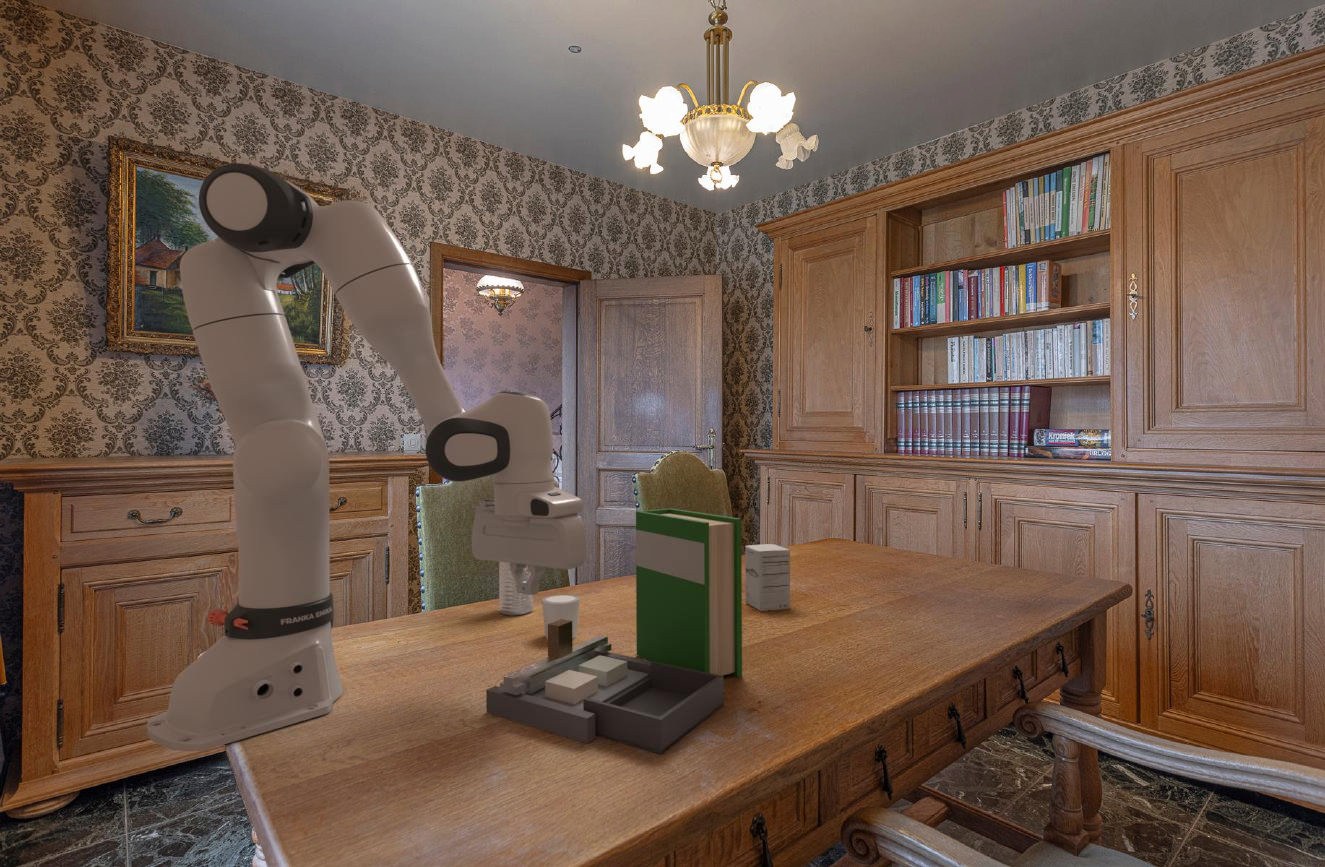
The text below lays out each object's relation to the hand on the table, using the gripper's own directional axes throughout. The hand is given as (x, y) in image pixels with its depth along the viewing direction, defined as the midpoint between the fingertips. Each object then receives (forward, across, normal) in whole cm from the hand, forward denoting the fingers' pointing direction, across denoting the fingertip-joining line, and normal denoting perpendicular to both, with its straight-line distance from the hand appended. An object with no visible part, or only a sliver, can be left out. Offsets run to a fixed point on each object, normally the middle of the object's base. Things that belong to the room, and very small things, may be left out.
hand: (528, 593), depth 98 cm
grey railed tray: (+13, +10, -1) cm, 17 cm away
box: (+14, +22, -1) cm, 26 cm away
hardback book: (+14, +16, +18) cm, 28 cm away
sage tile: (+12, +11, +3) cm, 16 cm away
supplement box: (+15, +13, +58) cm, 62 cm away
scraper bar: (+11, +6, -1) cm, 13 cm away
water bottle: (+14, -30, +27) cm, 43 cm away
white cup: (+14, -11, +19) cm, 26 cm away
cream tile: (+11, +11, -4) cm, 17 cm away
